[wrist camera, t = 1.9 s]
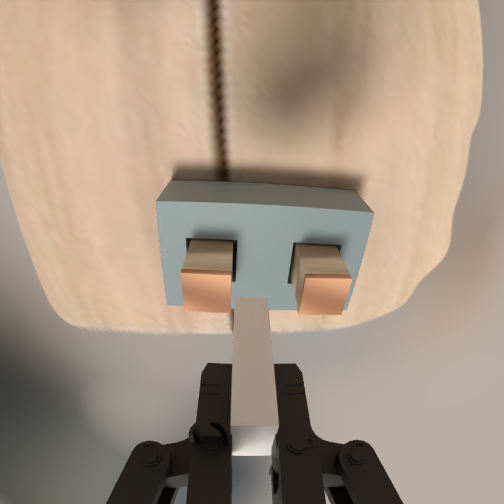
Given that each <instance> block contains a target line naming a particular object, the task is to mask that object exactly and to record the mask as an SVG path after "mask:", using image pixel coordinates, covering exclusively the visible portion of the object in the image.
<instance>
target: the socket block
mask: <svg viewBox="0 0 504 504" xmlns="http://www.w3.org/2000/svg"><path fill="white" fill-rule="evenodd" d="M156 209H157V221H158V232H159V242H160V252H161V261H162V269H163V277H164V285H165V292H166V300H167V305H175V306H184V305H183V295H182V285H181V274H180V273H181V269H182V267H183V264H184V260H185V257H186V254H187V250H188V247H189V244H190V241H191V238H202V239H227V240H237V251H233V264H232V286H231V308H232V309H234V307H235V297H244V298H268V309H269V310H298V309H297V304H296V299H295V294H294V289H293V285H292V280H291V275H290V274H291V268H292V262H293V255H294V253H292V249H293V243H294V242H296V243H317V244H335V245H336V247H337V249H338V251H339V253H340V255H341V257H342V259H343V261H344V263H345V265H346V267H347V269H348V271H349V273H350V275H351V277H352V282H351V286H350V289H349V292H348V295H347V299H346V302H345V305H344V308H343V310H347V308H348V304H349V301H350V298H351V295H352V292H353V289H354V286H355V282H356V279H357V276H358V272H359V269H360V265H361V262H362V258H363V255H364V251H365V248H366V244H367V240H368V236H369V232H370V228H371V224H372V220H373V216H374V212H373V211H372V210H371V209H370V207H369V206H368V205H367V204H366V203H365V202H364V201H363V200H362V198H361V197H360V196H359V195H358V194H357V193H356V192H355V191H352V190H342V189H332V188H321V187H310V186H297V185H283V184H268V183H249V182H226V181H185V180H171V181H170V182H169V183H168V185H167V186H166V188H165V189H164V190H163V192H162V193H161V195H160V196H159V198H158V199H157V200H156Z"/></svg>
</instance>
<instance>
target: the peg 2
mask: <svg viewBox="0 0 504 504" xmlns="http://www.w3.org/2000/svg"><path fill="white" fill-rule="evenodd" d="M290 275H291V280H292V285H293V289H294V294H295V299H296V304H297V309H298V315H341V314H342V311H343V308H344V305H345V302H346V299H347V295H348V292H349V289H350V286H351V282H352V277H351V275H350V273H349V271H348V269H347V267H346V265H345V263H344V261H343V259H342V257H341V255H340V253H339V251H338V249H337V247H336V245H335V244H317V243H296V242H295V249H294V255H293V262H292V268H291V274H290Z"/></svg>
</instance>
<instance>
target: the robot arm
mask: <svg viewBox="0 0 504 504" xmlns="http://www.w3.org/2000/svg"><path fill="white" fill-rule="evenodd" d="M271 453H272V465H271V468H270V472H269V474H271V481H272V500H273V504H326V500H325V493H324V490H325V492H326V494H327V496H328V499H329V501H330V503H331V504H403V502H402V500H401V499H400V497H399V495H398V493H397V491H396V489H395V488H394V486H393V484H392V482H391V480H390V479H389V477H388V475H387V473H386V471H385V469H384V467H383V466H382V464H381V462H380V460H379V458H378V457H377V455H376V453H375V451H374V449H373V448H372V447H371V446H370V444H368V443H366V442H365V441H361V440H353V441H349V442H348V443H346V444H339V443H333V442H328V441H325V440H322V439H321V438H319V437H318V436H316V435H315V433H314V432H313V430H312V428H311V425H310V419H309V412H308V406H307V400H306V395H305V388H304V381H303V375H302V372H301V371H300V369H299V368H298V366H297V365H296V364H274V363H273V352H272V341H271V330H270V319H269V309H268V298H244V297H235V307H234V332H233V362H232V364H220V363H208V364H207V365H206V367H205V368H204V370H203V371H202V374H201V383H200V392H199V400H198V409H197V419H196V423H195V424H194V425H193V426H192V427H191V428H190V431H189V437H188V438H187V439H185V440H183V441H181V442H177V443H171V444H166V445H162V444H160V443H158V442H154V441H146V442H142V443H140V444H138V445H137V446H136V447H135V448H134V450H133V451H132V453H131V455H130V457H129V459H128V461H127V463H126V465H125V467H124V469H123V471H122V473H121V475H120V477H119V479H118V481H117V483H116V485H115V487H114V489H113V491H112V493H111V495H110V497H109V499H108V501H107V503H106V504H173V503H174V500H175V498H176V495H177V493H178V490H179V488H180V487H184V486H188V488H187V503H186V504H232V455H242V456H245V455H246V456H249V455H250V456H252V455H255V456H257V455H258V456H260V455H271Z"/></svg>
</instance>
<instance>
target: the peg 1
mask: <svg viewBox="0 0 504 504" xmlns="http://www.w3.org/2000/svg"><path fill="white" fill-rule="evenodd" d="M232 264H233V240H227V239H202V238H191V241H190V244H189V247H188V250H187V254H186V257H185V260H184V264H183V267H182V269H181V273H180V274H181V285H182V295H183V305H184V311H197V312H216V313H230V310H231V286H232Z"/></svg>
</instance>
